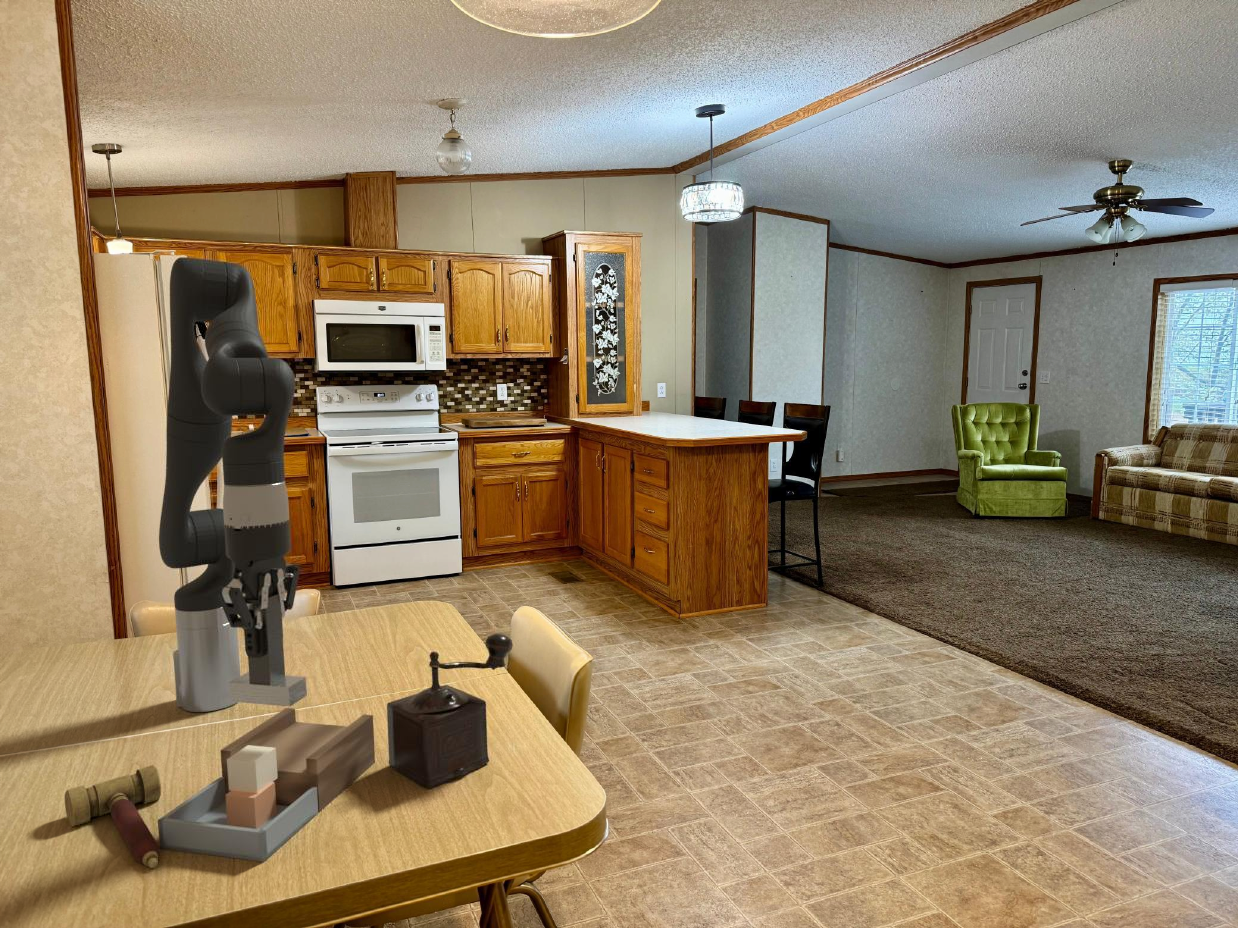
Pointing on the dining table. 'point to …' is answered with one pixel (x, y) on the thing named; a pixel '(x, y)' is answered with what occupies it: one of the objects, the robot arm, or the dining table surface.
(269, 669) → the grey upright post
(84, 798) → the gavel
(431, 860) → the dining table surface
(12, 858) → the dining table surface
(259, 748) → the off-white cube
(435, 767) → the antique coffee grinder
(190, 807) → the tray
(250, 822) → the terracotta cube
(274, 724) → the slot block
